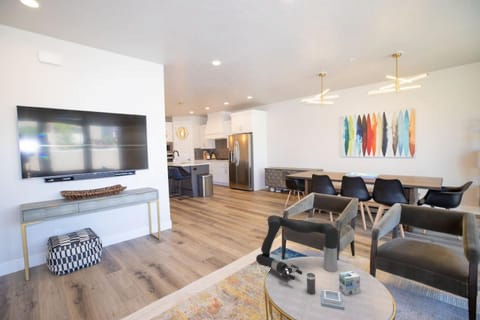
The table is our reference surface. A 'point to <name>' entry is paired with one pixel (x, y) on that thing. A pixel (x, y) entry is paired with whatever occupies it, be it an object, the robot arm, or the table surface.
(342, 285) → the light bulb box
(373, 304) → the table surface
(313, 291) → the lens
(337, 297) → the blue square socket base
